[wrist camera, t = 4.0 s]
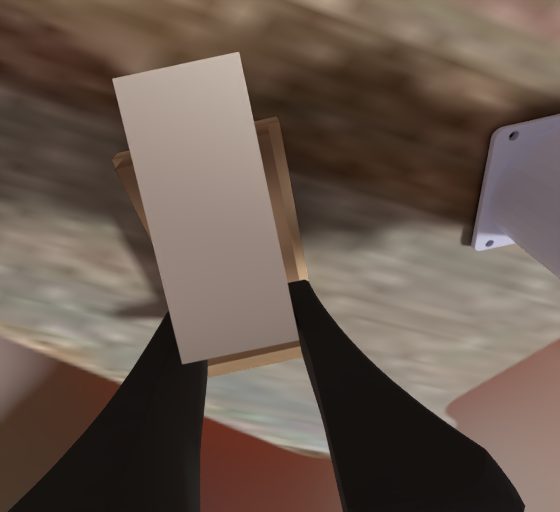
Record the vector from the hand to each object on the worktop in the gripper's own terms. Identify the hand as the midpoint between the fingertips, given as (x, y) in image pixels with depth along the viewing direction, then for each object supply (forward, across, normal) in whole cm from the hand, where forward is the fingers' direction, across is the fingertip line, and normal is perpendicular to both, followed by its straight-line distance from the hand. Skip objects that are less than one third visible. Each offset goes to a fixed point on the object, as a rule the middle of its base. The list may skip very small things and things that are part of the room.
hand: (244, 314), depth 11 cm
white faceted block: (+4, 0, -1) cm, 4 cm away
